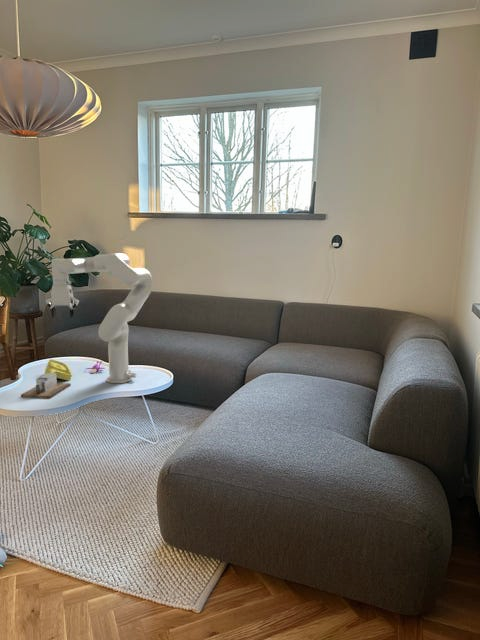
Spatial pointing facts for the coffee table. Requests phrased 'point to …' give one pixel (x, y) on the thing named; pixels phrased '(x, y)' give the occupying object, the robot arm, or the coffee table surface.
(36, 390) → the pin tray
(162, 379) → the coffee table surface
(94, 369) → the purple doll figure
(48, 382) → the block
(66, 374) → the plastic component
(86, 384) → the coffee table surface
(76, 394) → the coffee table surface
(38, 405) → the coffee table surface
